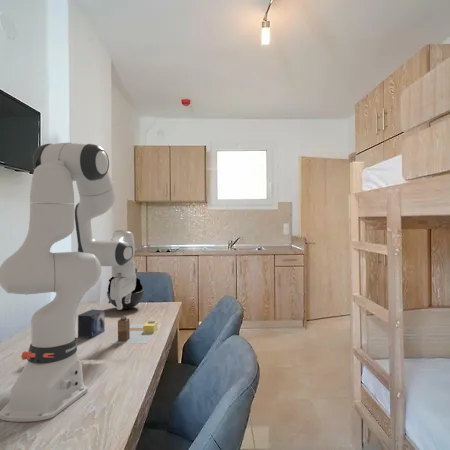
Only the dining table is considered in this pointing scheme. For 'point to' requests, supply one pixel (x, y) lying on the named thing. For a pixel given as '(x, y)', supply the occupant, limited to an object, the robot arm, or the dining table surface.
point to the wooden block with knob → (123, 329)
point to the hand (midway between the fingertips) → (123, 306)
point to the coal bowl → (135, 295)
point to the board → (137, 334)
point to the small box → (91, 323)
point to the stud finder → (150, 327)
